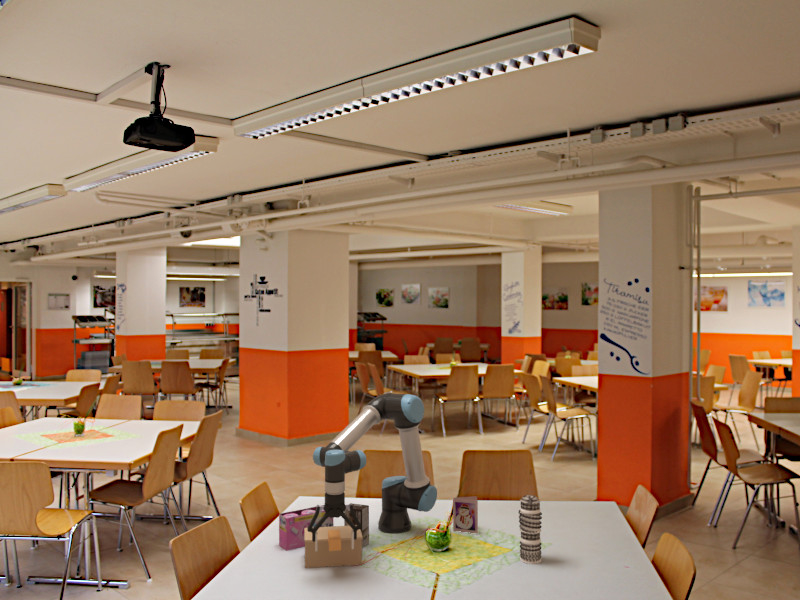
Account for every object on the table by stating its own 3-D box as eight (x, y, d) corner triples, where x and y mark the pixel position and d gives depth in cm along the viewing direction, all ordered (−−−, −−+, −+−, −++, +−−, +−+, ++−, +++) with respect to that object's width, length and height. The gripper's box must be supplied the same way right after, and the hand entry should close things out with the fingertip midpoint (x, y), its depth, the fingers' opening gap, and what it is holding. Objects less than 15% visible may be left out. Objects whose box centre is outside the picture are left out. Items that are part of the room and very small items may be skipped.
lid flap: (359, 527, 263) (359, 517, 264) (365, 548, 238) (365, 538, 239) (304, 529, 260) (304, 520, 260) (304, 552, 235) (304, 541, 235)
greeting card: (452, 531, 287) (452, 498, 288) (457, 526, 294) (457, 494, 295) (477, 534, 283) (477, 500, 284) (481, 529, 290) (481, 496, 290)
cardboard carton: (358, 551, 263) (358, 527, 263) (361, 564, 249) (361, 538, 250) (304, 554, 260) (304, 529, 260) (305, 567, 246) (305, 541, 246)
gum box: (328, 534, 284) (328, 503, 285) (336, 539, 278) (336, 508, 278) (278, 545, 271) (278, 513, 271) (286, 551, 264) (286, 518, 265)
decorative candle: (528, 566, 247) (528, 501, 248) (514, 558, 256) (513, 495, 256) (547, 561, 252) (546, 498, 252) (532, 554, 260) (531, 492, 261)
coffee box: (369, 543, 273) (369, 505, 274) (362, 548, 267) (362, 509, 268) (351, 540, 277) (351, 502, 277) (343, 544, 271) (343, 506, 272)
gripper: (366, 488, 246) (366, 543, 245) (301, 490, 242) (300, 547, 241) (368, 493, 238) (368, 550, 238) (301, 496, 235) (300, 554, 234)
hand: (334, 549), depth 239 cm, fingers open, 13 cm apart
